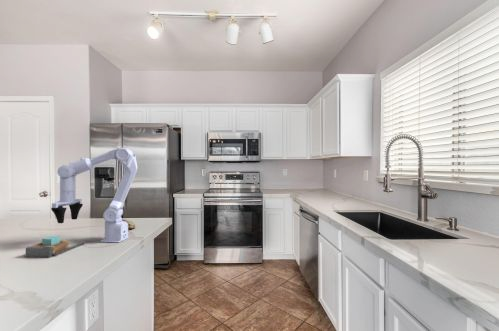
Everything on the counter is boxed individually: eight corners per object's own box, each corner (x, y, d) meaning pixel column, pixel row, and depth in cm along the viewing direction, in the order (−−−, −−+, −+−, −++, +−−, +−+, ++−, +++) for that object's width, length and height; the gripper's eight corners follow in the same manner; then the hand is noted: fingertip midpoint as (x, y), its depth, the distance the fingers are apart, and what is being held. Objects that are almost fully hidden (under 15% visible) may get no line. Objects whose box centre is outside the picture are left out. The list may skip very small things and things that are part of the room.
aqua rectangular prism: (59, 250, 101) (59, 236, 101) (51, 254, 97) (51, 239, 97) (51, 250, 102) (51, 236, 102) (42, 253, 98) (42, 238, 98)
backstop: (84, 244, 110) (84, 236, 110) (52, 257, 93) (52, 248, 93) (59, 243, 111) (59, 235, 111) (23, 256, 94) (23, 247, 94)
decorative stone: (130, 216, 147) (140, 223, 137) (130, 223, 148) (140, 230, 137) (113, 218, 141) (122, 226, 130) (113, 225, 141) (122, 233, 131)
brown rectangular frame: (68, 249, 103) (68, 240, 103) (52, 255, 95) (52, 246, 95) (48, 248, 104) (48, 240, 104) (30, 255, 96) (30, 246, 96)
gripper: (72, 189, 119) (72, 217, 119) (45, 193, 105) (45, 224, 105) (85, 189, 119) (85, 217, 119) (60, 193, 104) (60, 225, 104)
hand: (67, 221), depth 112 cm, fingers open, 7 cm apart
